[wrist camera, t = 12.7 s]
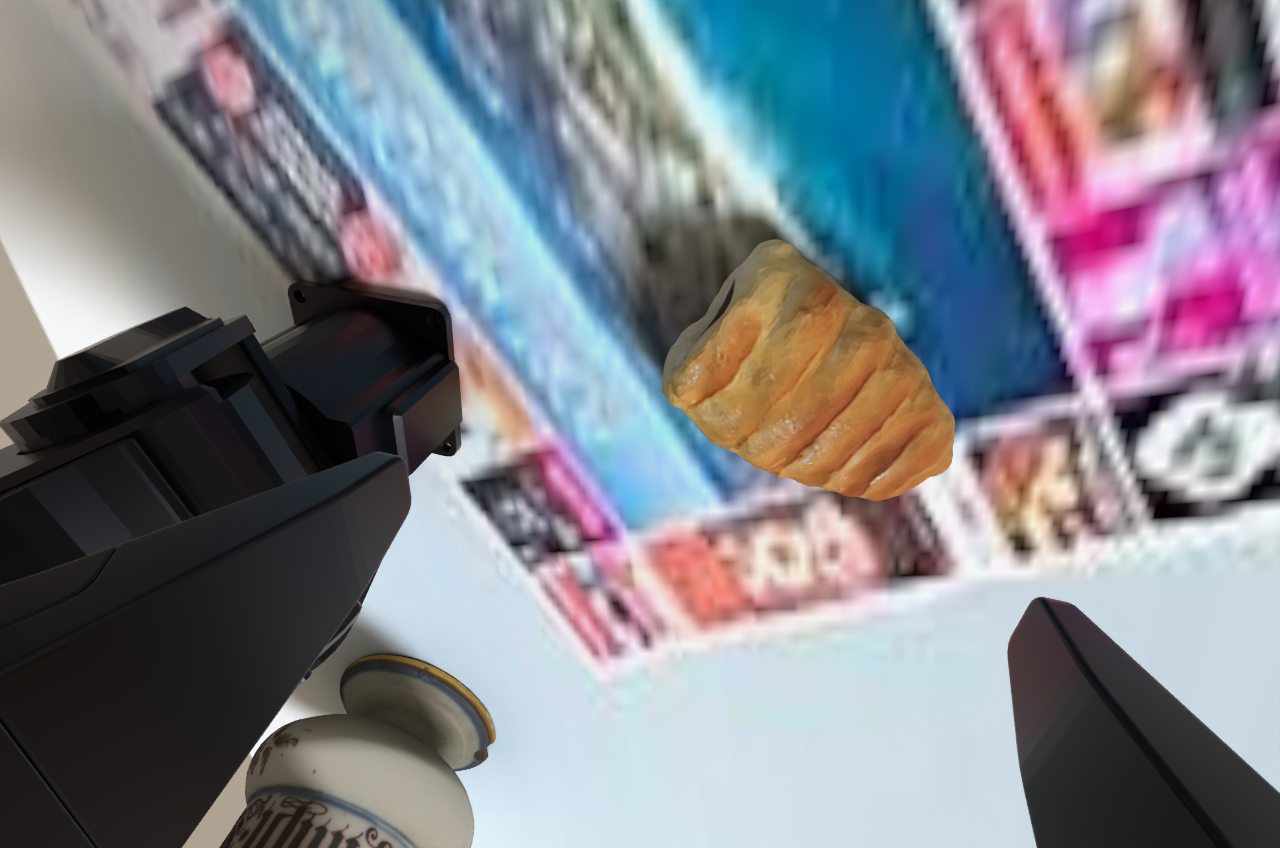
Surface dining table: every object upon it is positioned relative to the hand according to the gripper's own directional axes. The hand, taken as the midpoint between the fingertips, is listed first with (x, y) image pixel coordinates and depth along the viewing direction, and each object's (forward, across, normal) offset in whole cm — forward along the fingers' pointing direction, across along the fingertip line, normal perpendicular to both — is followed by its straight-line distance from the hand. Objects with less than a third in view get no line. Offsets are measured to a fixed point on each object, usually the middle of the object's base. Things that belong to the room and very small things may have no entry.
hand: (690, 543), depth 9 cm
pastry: (+14, -2, +3) cm, 14 cm away
